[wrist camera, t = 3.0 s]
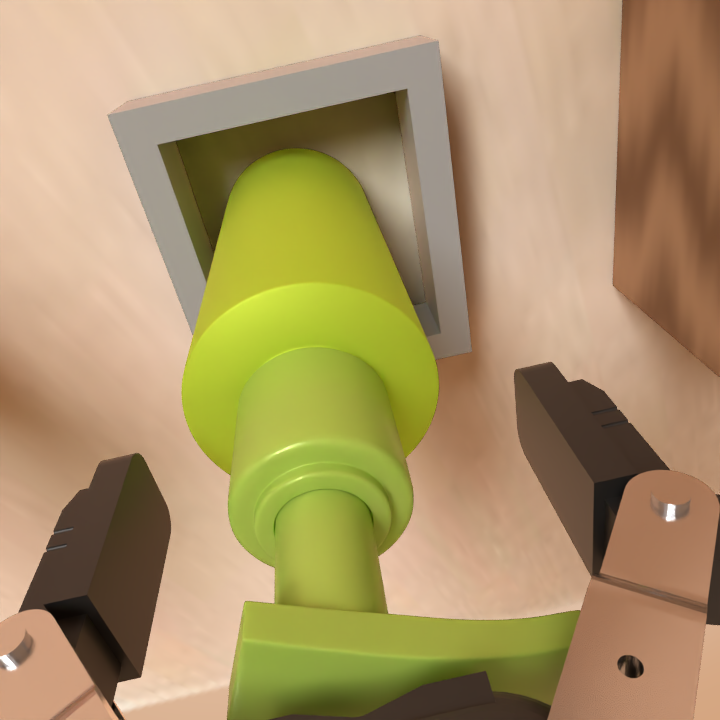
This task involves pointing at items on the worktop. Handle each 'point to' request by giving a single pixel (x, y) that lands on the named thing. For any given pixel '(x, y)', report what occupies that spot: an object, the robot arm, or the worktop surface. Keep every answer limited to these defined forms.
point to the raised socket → (671, 169)
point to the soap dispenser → (329, 453)
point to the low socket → (290, 96)
